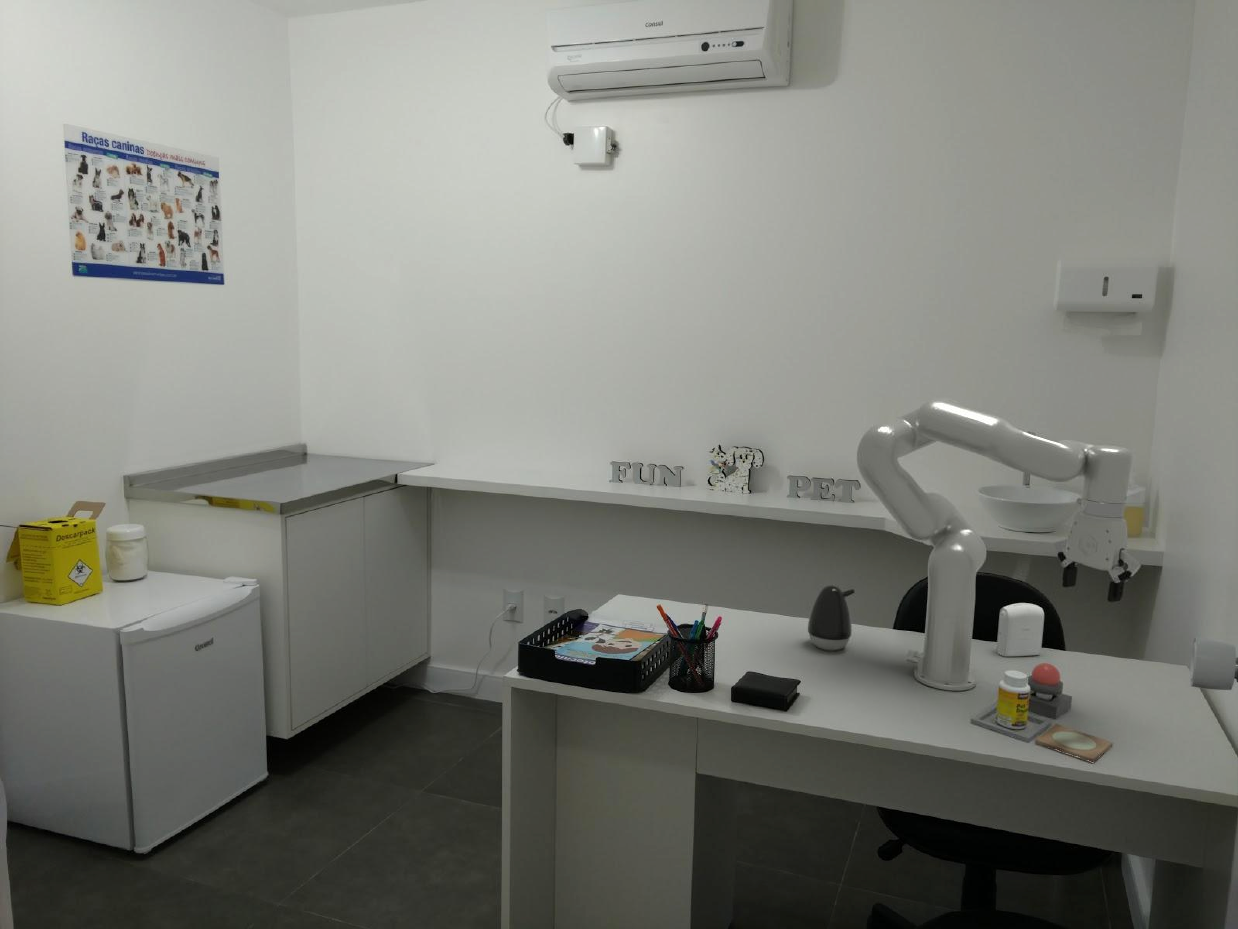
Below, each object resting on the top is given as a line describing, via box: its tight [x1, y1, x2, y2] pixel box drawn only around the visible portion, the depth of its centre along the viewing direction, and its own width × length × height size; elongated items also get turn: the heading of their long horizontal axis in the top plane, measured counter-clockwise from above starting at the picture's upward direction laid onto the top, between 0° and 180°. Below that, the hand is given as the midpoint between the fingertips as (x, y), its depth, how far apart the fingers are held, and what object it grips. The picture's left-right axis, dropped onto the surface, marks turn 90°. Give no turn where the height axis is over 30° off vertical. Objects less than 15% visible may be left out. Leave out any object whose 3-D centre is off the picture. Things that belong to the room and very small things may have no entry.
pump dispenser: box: [807, 584, 856, 652], centre depth 210 cm, size 10×10×15 cm
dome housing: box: [1028, 689, 1073, 720], centre depth 179 cm, size 8×8×2 cm
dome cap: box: [1027, 662, 1064, 701], centre depth 179 cm, size 6×6×8 cm
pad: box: [1034, 723, 1114, 763], centre depth 163 cm, size 10×10×1 cm
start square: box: [970, 702, 1053, 743], centre depth 171 cm, size 11×11×1 cm
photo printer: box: [996, 602, 1045, 657], centre depth 208 cm, size 10×4×12 cm, turn 99°
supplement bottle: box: [995, 669, 1030, 730], centre depth 170 cm, size 6×6×10 cm
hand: (1090, 593), depth 175 cm, fingers open, 9 cm apart
